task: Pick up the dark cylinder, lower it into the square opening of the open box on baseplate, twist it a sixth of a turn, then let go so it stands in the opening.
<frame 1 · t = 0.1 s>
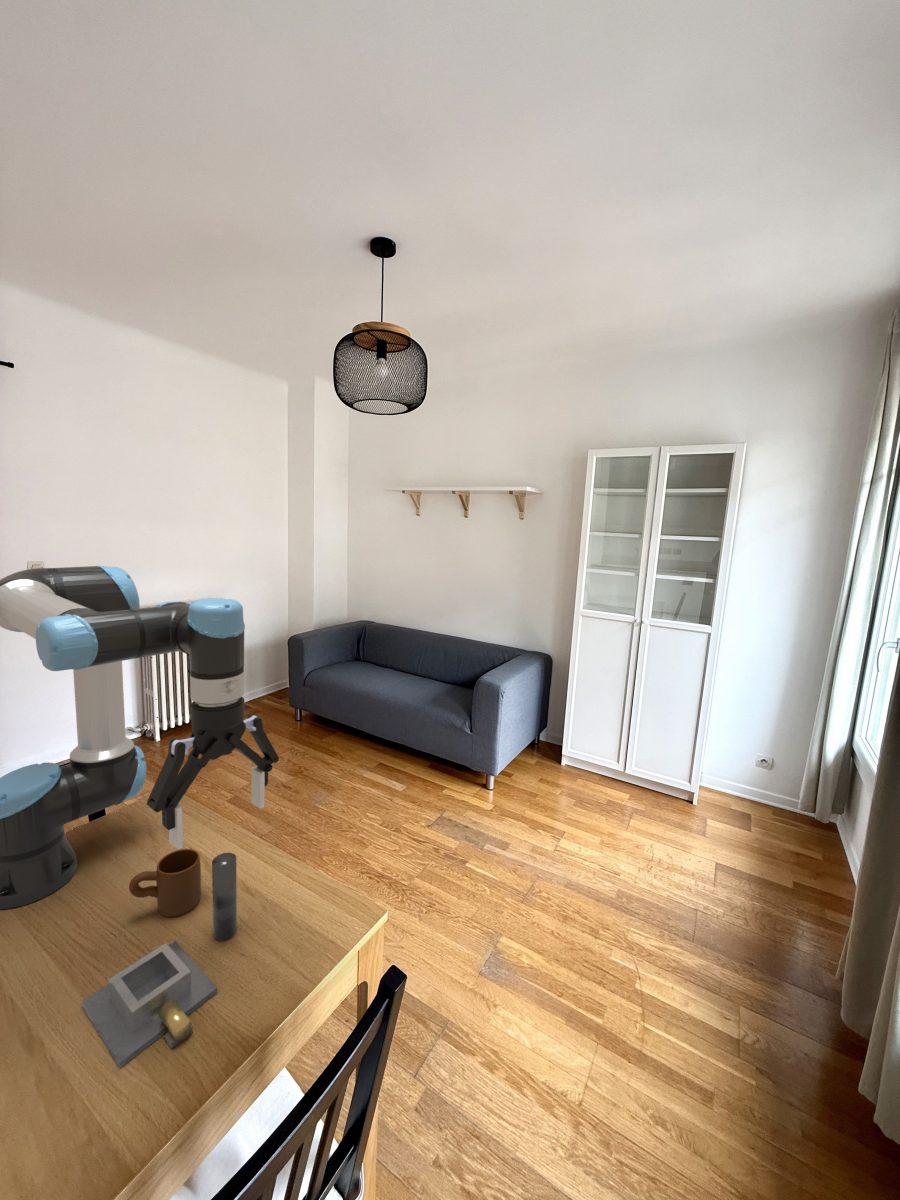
hand: (220, 823, 77), 28 cm above the table, fingers open, 13 cm apart
mug: (167, 908, 94), on the table
open box on baseplate: (151, 999, 76), on the table
dark cylinder: (225, 932, 89), on the table
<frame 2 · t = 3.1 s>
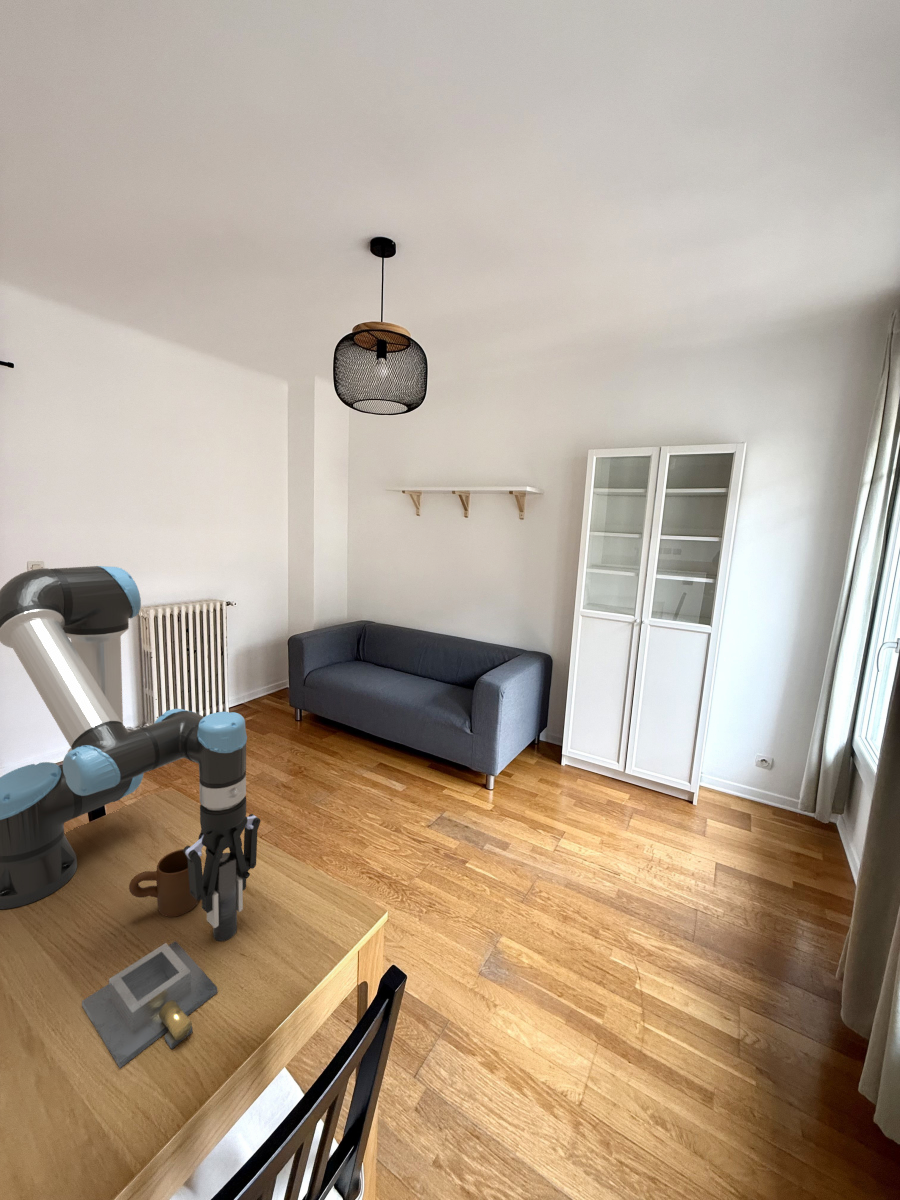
hand: (225, 914, 89), 4 cm above the table, fingers closed on dark cylinder, 4 cm apart
dark cylinder: (225, 932, 89), on the table, touching gripper
everything else where it was.
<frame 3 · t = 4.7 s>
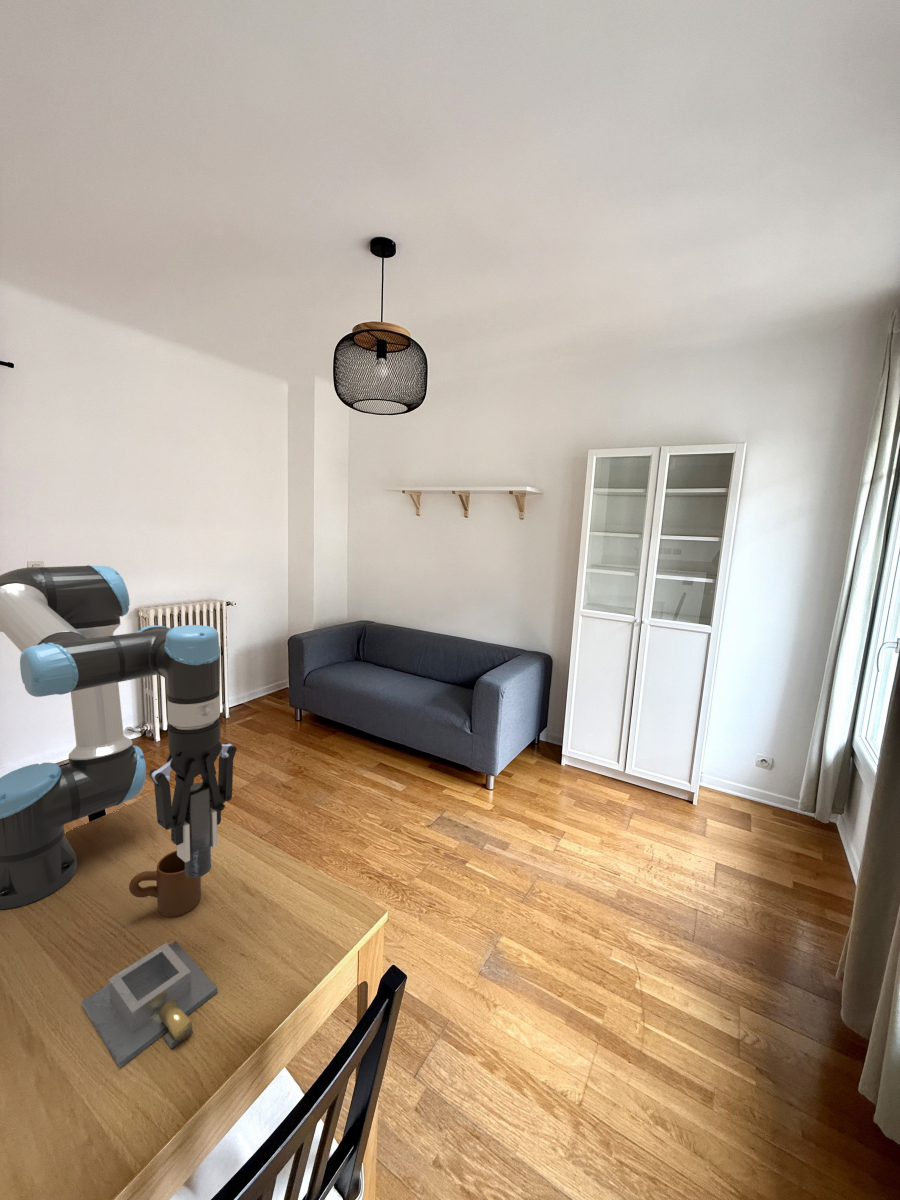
hand: (197, 850, 81), 21 cm above the table, fingers closed on dark cylinder, 4 cm apart
dark cylinder: (198, 869, 82), point 17 cm above the table, touching gripper
everything else where it was.
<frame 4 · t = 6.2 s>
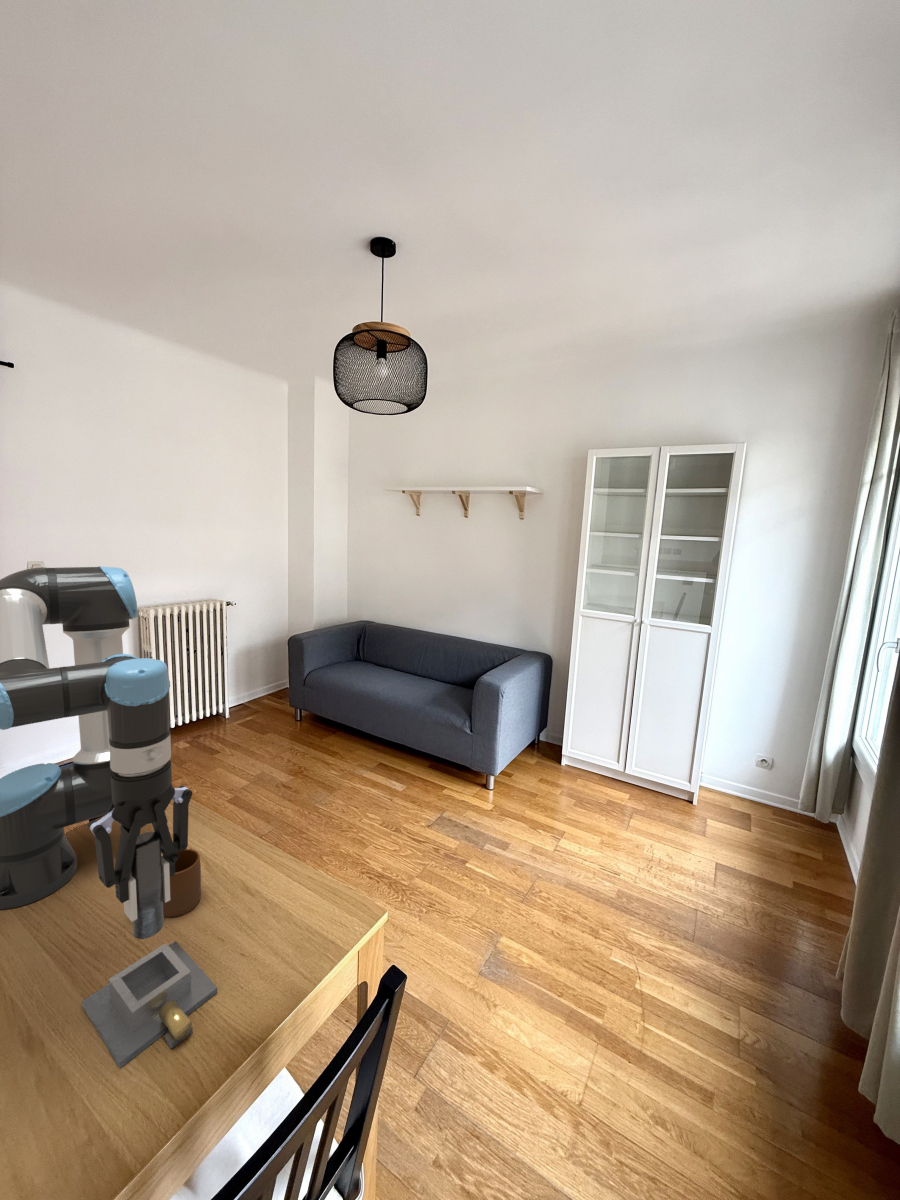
hand: (147, 905, 73), 17 cm above the table, fingers closed on dark cylinder, 4 cm apart
dark cylinder: (148, 928, 74), point 13 cm above the table, touching gripper
everything else where it was.
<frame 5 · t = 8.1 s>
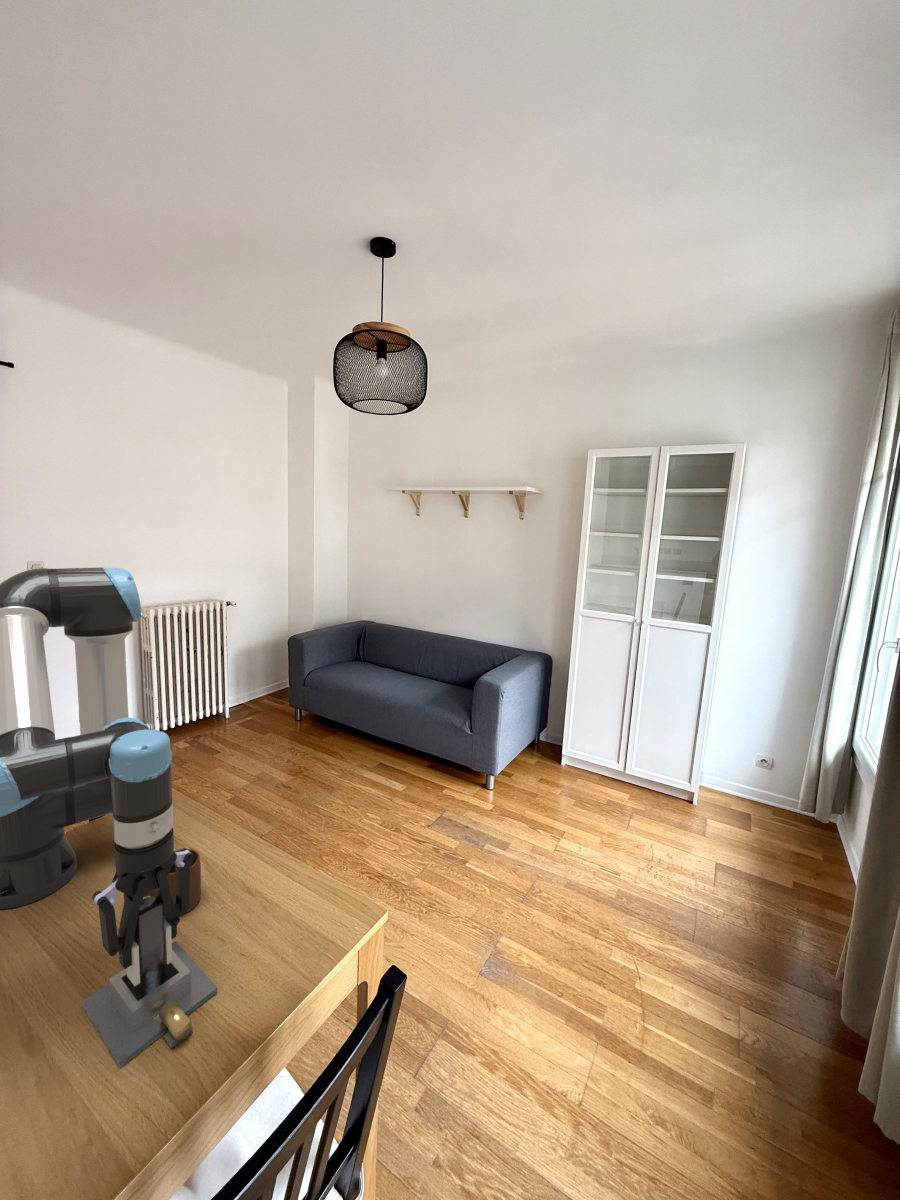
hand: (150, 968, 75), 6 cm above the table, fingers closed on dark cylinder, 4 cm apart
dark cylinder: (151, 989, 76), point 2 cm above the table, touching gripper
everything else where it was.
when the fingers open (6 cm above the table, at t = 9.5 s): dark cylinder stays where it is, resting on open box on baseplate.
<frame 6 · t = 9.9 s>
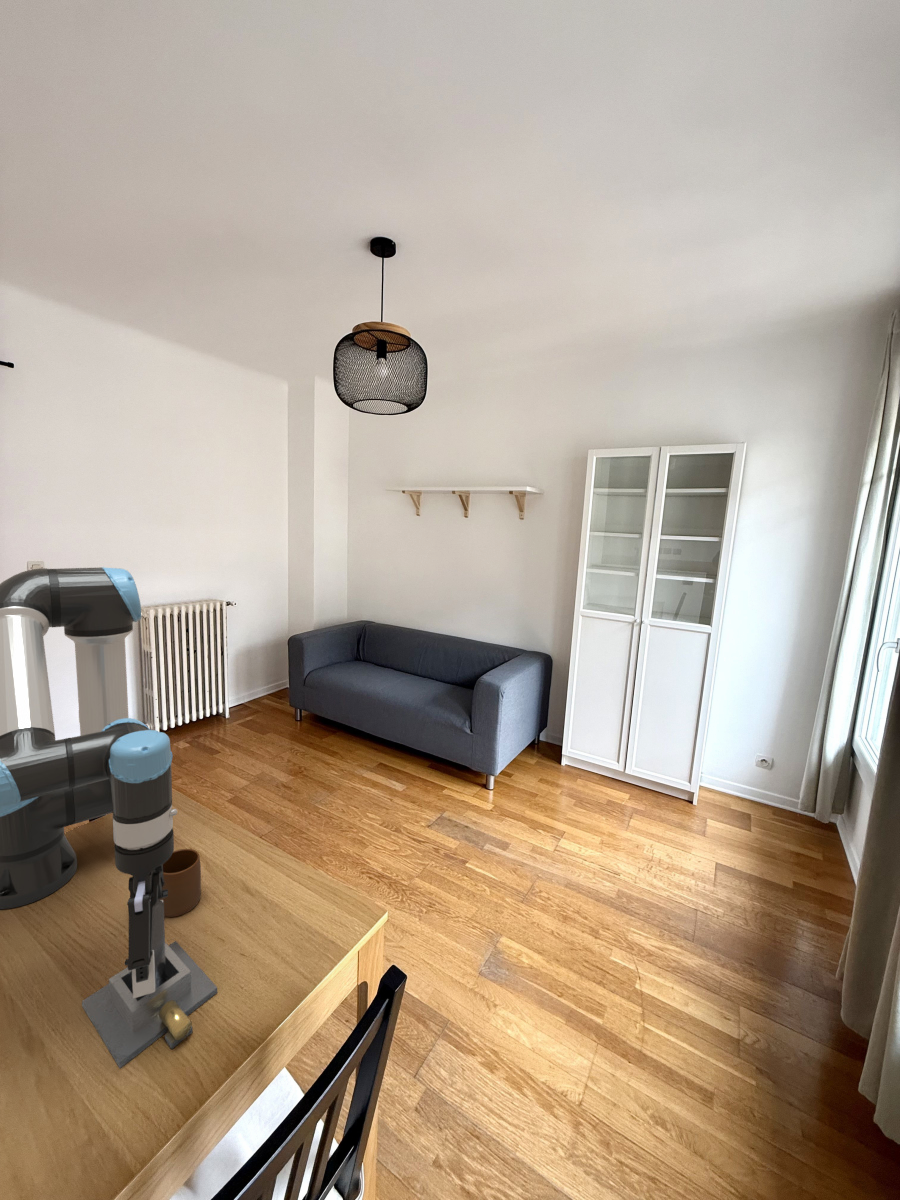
hand: (149, 963, 75), 7 cm above the table, fingers open, 9 cm apart
dark cylinder: (151, 993, 76), point 1 cm above the table, touching open box on baseplate
everything else where it was.
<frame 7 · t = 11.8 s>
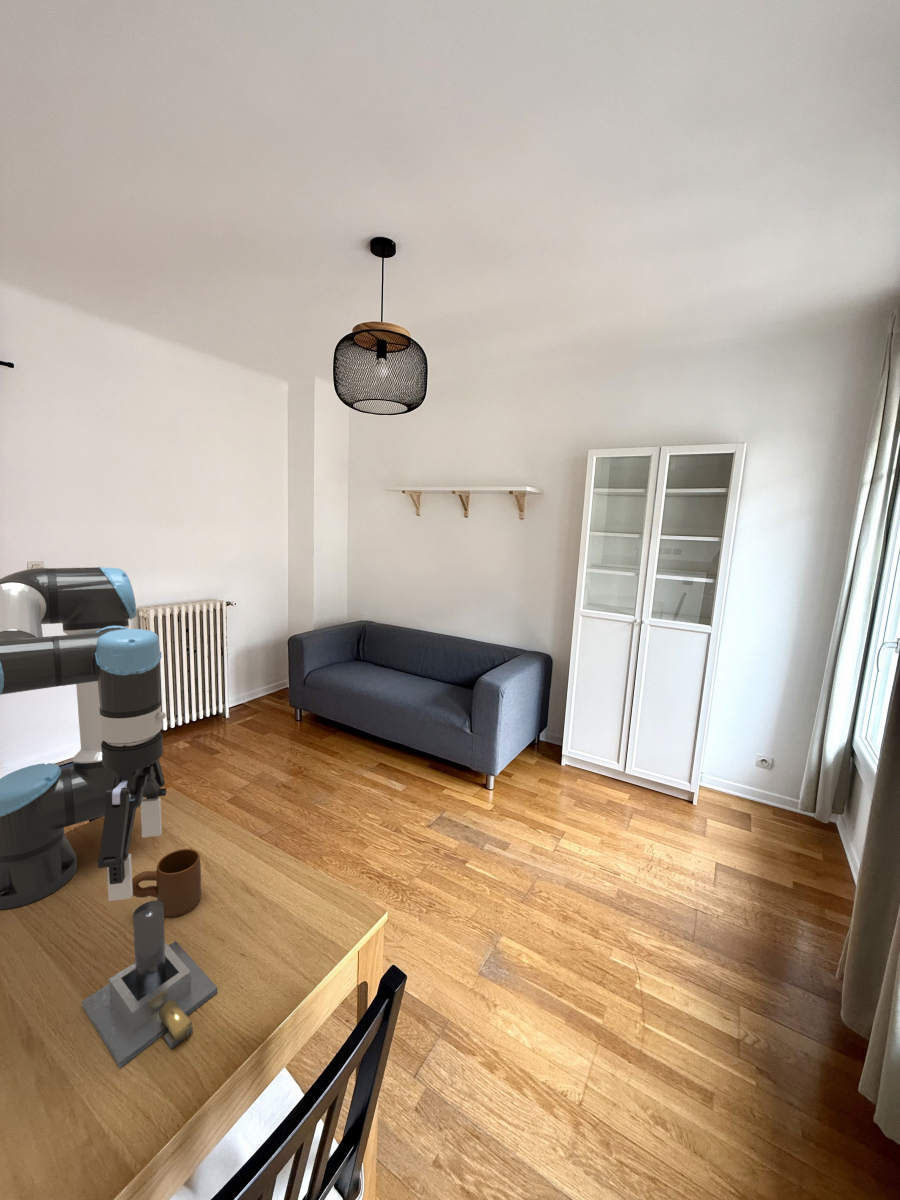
hand: (137, 864, 73), 23 cm above the table, fingers open, 13 cm apart
nothing on the table moved.
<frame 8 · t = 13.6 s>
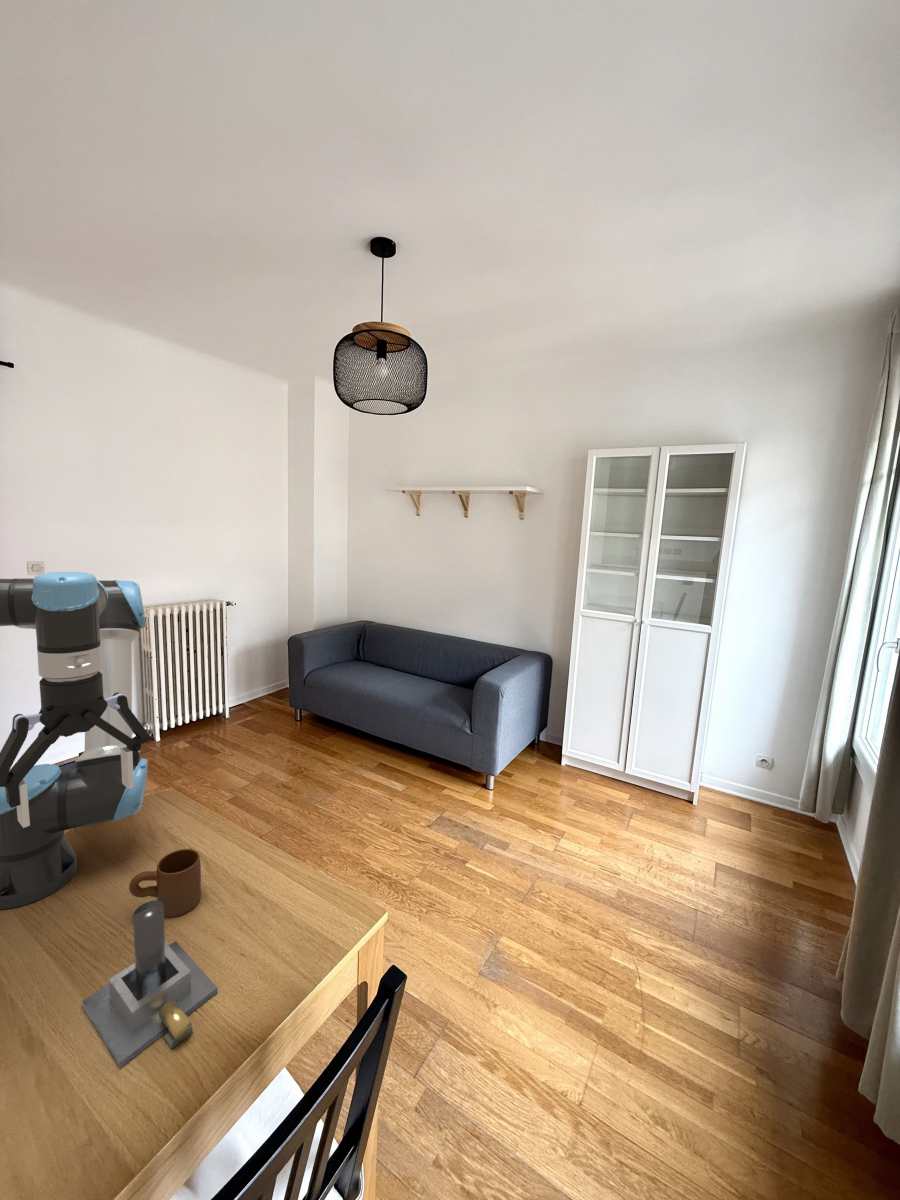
hand: (79, 803, 75), 31 cm above the table, fingers open, 13 cm apart
nothing on the table moved.
at the end: dark cylinder 0.1 cm off-centre on the open box on baseplate, point 1.0 cm above the open box on baseplate's base; dark cylinder tilted 0°; the gripper is holding nothing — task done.
